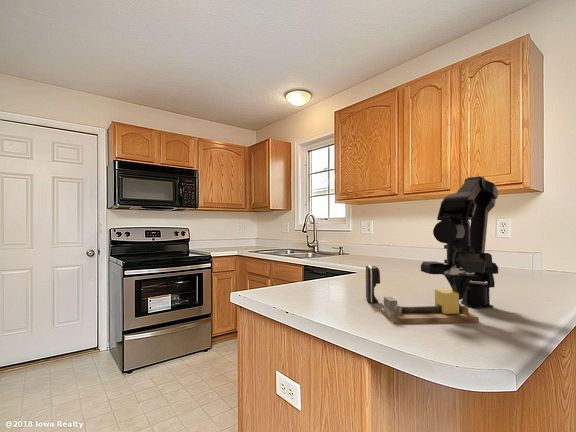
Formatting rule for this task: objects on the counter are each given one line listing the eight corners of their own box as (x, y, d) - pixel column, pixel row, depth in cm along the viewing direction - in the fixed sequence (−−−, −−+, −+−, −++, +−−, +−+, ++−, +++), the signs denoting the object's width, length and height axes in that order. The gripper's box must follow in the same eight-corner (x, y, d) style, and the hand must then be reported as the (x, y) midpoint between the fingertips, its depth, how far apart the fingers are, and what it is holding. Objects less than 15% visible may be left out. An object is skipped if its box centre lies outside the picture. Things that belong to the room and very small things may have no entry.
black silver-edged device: (381, 304, 99) (380, 267, 100) (368, 303, 100) (368, 267, 100) (377, 298, 106) (377, 264, 106) (365, 298, 107) (365, 264, 107)
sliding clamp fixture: (456, 311, 91) (455, 293, 91) (478, 321, 81) (478, 302, 81) (380, 312, 90) (380, 294, 90) (394, 323, 80) (393, 303, 80)
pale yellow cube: (449, 308, 88) (448, 289, 88) (459, 313, 83) (458, 293, 83) (435, 308, 88) (434, 289, 88) (444, 313, 83) (444, 293, 83)
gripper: (440, 243, 78) (441, 307, 77) (513, 243, 79) (515, 306, 78) (419, 241, 89) (420, 297, 88) (483, 241, 90) (484, 296, 89)
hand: (459, 299), depth 86 cm, fingers closed
